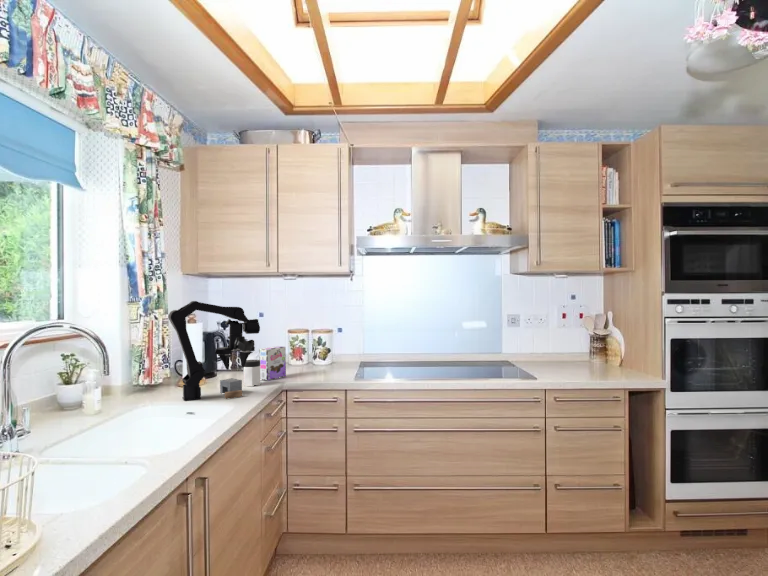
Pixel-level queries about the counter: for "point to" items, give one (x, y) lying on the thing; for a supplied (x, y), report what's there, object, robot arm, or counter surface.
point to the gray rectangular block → (230, 385)
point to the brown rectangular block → (233, 394)
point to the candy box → (272, 362)
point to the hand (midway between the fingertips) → (235, 368)
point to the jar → (252, 373)
